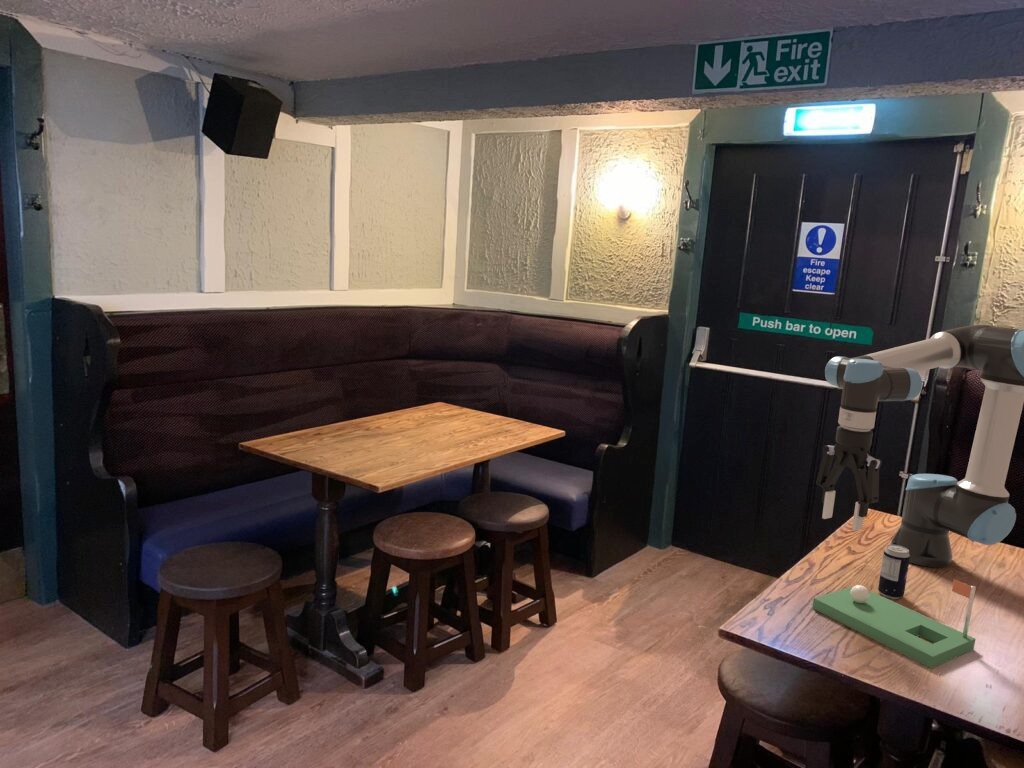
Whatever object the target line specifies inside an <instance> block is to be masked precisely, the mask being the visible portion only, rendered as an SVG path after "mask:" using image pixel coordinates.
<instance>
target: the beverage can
mask: <svg viewBox="0 0 1024 768" xmlns="http://www.w3.org/2000/svg"><path fill="white" fill-rule="evenodd" d="M909 560H910V555H909V550H908V549H907V548H905V547H902V546H899V545H891V544H887V545H886V547H885V549H884V550H883V554H882V561H881V567H880V574H879V579H878V580H879V581H878V586H877V590H878V592H879V593H880V594H881V596H882V597H884V598H887V599H890V600H891V599H892V600H899V599H900V598H901V597H902V598H903V597H904V595H905V589H906V584H907V577H908V573H909V565H910V562H909Z"/></svg>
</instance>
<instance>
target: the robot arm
mask: <svg viewBox="0 0 1024 768" xmlns="http://www.w3.org/2000/svg"><path fill="white" fill-rule="evenodd" d="M935 368H936V369H937V368H941V369H951V368H966V369H970V370H976V371H980V372H981V373H980V379H979V380H980V381H981V383H982V384H983V385H984V387H985V389H984V392H983V393H984V394H983V398H982V401H981V406H980V411H979V415H978V419H977V424H976V428H975V429H976V430H975V432H974V437H973V442H972V446H971V451H970V455H969V461H968V465H967V469H966V473H965V477H964V478H963V479H961V480H959V481H958V479H957V477H953V476H951V475H946V474H938V473H936V474H935V473H916V474H913V475H911V476H909V478H908V480H907V485H906V487H905V492H904V493H905V495H904V502H903V509H902V515H901V521H900V525H899V527H898V529H897V531H896V533H895V534H894V536H893V537H892V539H891V542H890V545H899V546H902V547H905V548H907V549H908V550H909V555H910V560H909V564H914V565H918V566H922V567H927V568H945V567H949V566H950V565H952V559H953V552H952V546H951V542H950V536H949V535H950V532H951V533H953V534H956V535H959V536H961V537H963V538H966V539H968V540H969V541H971V542H976V543H979V544H982V545H985V546H993V545H997V544H999V543H1000V542H1002V541H1003V540H1004V539H1005V538H1006V537H1007V536H1008V535H1009V534H1010V533H1011V531H1012V530H1013V528H1014V526H1015V523H1016V520H1017V513H1016V509H1015V507H1013V506H1012V505H1011V503H1009V498H1010V493H1009V491H1008V490H1007V489H1006V487H1005V484H1006V480H1007V475H1008V471H1009V467H1010V462H1011V458H1012V453H1013V450H1014V446H1015V441H1016V436H1017V432H1018V429H1019V425H1020V421H1021V420H1020V419H1021V415H1022V411H1023V406H1024V329H1017V328H1012V327H1011V328H1010V327H1003V326H996V325H995V326H993V325H989V324H974V325H968V326H967V325H966V326H961V327H957V328H951V329H947V330H944V331H939V332H936V333H934V334H932V336H931V337H930V338H927V339H924V340H920V341H916V342H912V343H908V344H904V345H900V346H895V347H892V348H888V349H884V350H880V351H877V352H873V353H868V354H864V355H860V356H856V357H847V356H834V357H832V358H831V359H829V361H828V362H827V363H826V366H825V369H824V376H825V380H826V381H827V382H828V384H830V386H835V387H837V388H839V389H842V391H841V399H840V400H841V401H840V407H839V413H838V414H839V415H838V420H837V422H838V426H837V428H836V433H835V442H836V443H835V445H832V444H830V445H823V446H822V457H821V458H822V459H821V463H820V464H819V465H820V467H819V469H818V470H819V471H818V474H817V478H816V482H815V485H816V486H819V487H820V488H821V489H822V493H821V494H822V495H821V503H822V504H823V508H822V517H821V519H823V520H827V519H831V518H832V517H833V513H834V508H835V507H834V506H835V500H836V493H837V492H836V490H835V485H836V483H837V482H838V479H839V478H840V476H841V474H842V473H843V471H844V470H845V468H846V467H848V468H849V469H851V471H852V474H853V475H854V480H855V481H854V482H855V484H856V489H857V490H856V491H857V495H858V501H856V502H855V503H854V504H855V506H854V512H853V519H852V525H851V530H852V531H860V530H863V526H864V525H863V523H864V518H865V517H866V518H867V516H868V514H869V513H868V512H869V507H870V504H871V505H872V504H874V503H878V502H879V500H880V499H879V498H880V497H879V496H880V489H879V488H880V469H881V466H882V464H883V460H882V459H881V458H875V457H873V456H871V452H870V451H871V450H870V449H871V446H872V443H873V435H874V432H873V429H875V422H876V417H877V416H876V415H877V411H878V409H877V408H878V403H879V402H905V401H911V400H914V399H916V398H917V397H918V396H919V395H920V393H921V391H922V388H923V379H922V377H921V376H920V372H924V371H928V370H931V369H935ZM834 456H836V459H835V461H834ZM833 461H834V462H833ZM866 463H867V464H866ZM832 465H833V467H832ZM866 466H867V467H868V469H867V467H866ZM866 472H867V473H866Z"/></svg>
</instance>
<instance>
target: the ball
mask: <svg viewBox="0 0 1024 768" xmlns="http://www.w3.org/2000/svg"><path fill="white" fill-rule="evenodd" d="M855 585H856V586H855ZM855 585H853V586H854V587H853V588H852V589H851V591H850V595H851V598H852V599H853V600H854V601H855V602H857V603H864V602H866V601H867V600H868V599H869V591H870V590H869V589H868V588H867V587H866V586H865V585H861V584H855ZM868 590H869V591H868Z"/></svg>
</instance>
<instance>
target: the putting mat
mask: <svg viewBox="0 0 1024 768" xmlns="http://www.w3.org/2000/svg"><path fill="white" fill-rule="evenodd" d="M856 585H857V584H855V585H852V586H849V587H846V588H843V589H839V590H836V591H833V592H830V593H829V592H828V593H826V594H823V595H819V596H816V597H813V600H812V609H813V610H815V611H817V612H819V613H821V614H823V615H824V616H827V617H829V618H831V619H833V620H834V621H837V622H839V623H840V624H842V625H844V626H847V627H849V628H851V629H852V630H855V631H856V632H858V633H860V634H863V635H864V636H866V637H868V638H871V639H872V640H874V641H876V642H879V643H880V644H882V645H884V646H887V647H888V648H890V649H893V650H894V651H896V652H899V653H900V654H902V655H904V656H905V657H908V658H910V659H911V660H913V661H916V662H917V663H920V664H922V665H923V666H926V667H928V668H930V669H932V668H935V667H937V666H939V665H941V664H944V663H946V662H948V661H951V660H953V659H955V658H957V657H960V656H962V655H964V654H967V653H969V652H971V651H974V649H975V644H976V638H975V637H973V636H970V635H969V634H967V638H964V637H962V636H963V631H960V630H958V629H956V628H953V627H952V626H951V627H950V626H948V625H946V624H944V623H942V622H939V621H937V620H935V619H933V618H930V617H928V616H926V615H924V614H921V613H919V612H917V611H916V610H913V609H911V608H910V607H909V608H908V607H906V606H905V605H902V604H901V603H900V604H899V603H897V602H895V601H893V600H891V599H890V598H887V597H885V596H883V595H880V594H878V593H875V592H873V591H871V590H869V589H868V591H869V599H868V600H867V601H866V602H864V603H857V602H855V601H854V600H853V599H852V598H851V595H850V591H851V589H852V588H853V587H854V586H856ZM921 637H922V638H921ZM923 638H924V639H923ZM925 639H926V640H925ZM927 640H928V641H927ZM929 641H930V642H929ZM931 642H932V643H931Z"/></svg>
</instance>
